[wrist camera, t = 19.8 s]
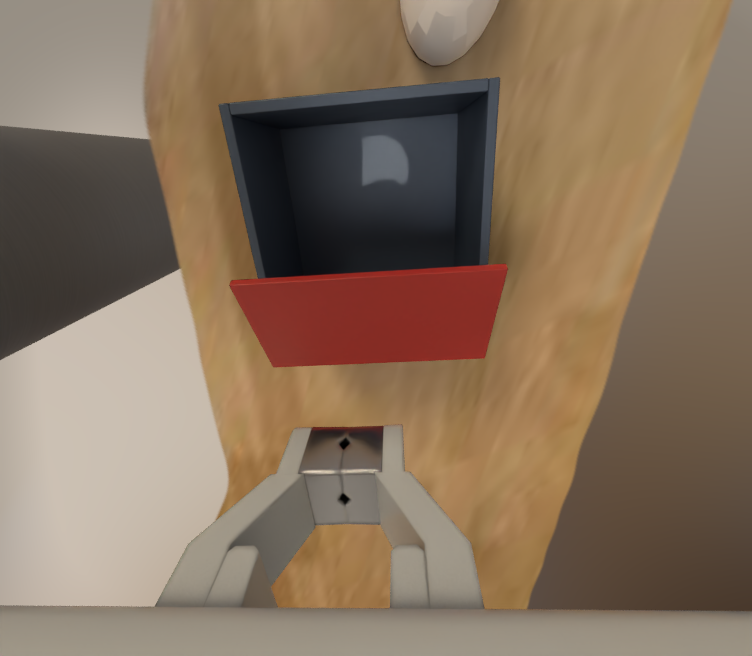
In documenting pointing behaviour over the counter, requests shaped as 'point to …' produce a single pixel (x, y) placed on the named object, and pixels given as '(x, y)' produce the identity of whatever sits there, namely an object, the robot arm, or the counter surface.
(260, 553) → the robot arm
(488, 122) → the carton
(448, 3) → the beige and grey spoon
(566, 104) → the counter surface
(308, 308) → the lid
